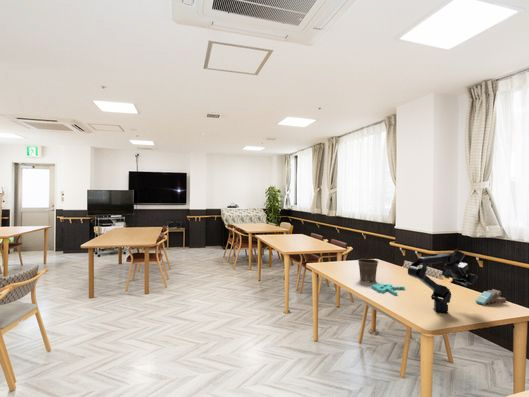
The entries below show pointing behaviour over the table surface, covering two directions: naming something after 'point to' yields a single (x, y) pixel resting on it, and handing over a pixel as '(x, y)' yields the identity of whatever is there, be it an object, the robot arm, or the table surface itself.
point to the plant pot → (368, 269)
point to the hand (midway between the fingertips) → (466, 285)
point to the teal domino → (484, 298)
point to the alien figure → (386, 288)
